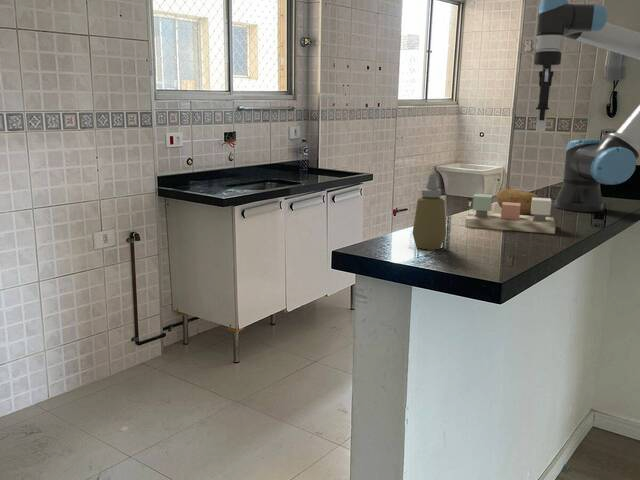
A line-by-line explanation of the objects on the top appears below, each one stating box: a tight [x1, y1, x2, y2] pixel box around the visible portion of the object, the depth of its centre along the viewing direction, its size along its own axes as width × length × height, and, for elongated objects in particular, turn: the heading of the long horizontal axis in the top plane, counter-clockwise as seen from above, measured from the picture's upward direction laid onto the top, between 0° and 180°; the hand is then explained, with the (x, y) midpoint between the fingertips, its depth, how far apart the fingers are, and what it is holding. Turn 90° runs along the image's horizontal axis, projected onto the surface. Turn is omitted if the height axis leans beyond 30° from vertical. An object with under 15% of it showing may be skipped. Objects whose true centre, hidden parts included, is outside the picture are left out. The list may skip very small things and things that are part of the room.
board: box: [464, 211, 556, 235], centre depth 174 cm, size 24×12×2 cm, turn 72°
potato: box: [496, 188, 541, 216], centre depth 191 cm, size 10×14×8 cm
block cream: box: [530, 197, 552, 222], centre depth 170 cm, size 5×5×6 cm
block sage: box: [472, 193, 493, 217], centre depth 175 cm, size 5×5×6 cm
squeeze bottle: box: [412, 173, 447, 251], centre depth 144 cm, size 8×8×18 cm
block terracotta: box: [500, 202, 521, 220], centre depth 173 cm, size 5×5×6 cm
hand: (540, 131), depth 185 cm, fingers closed
